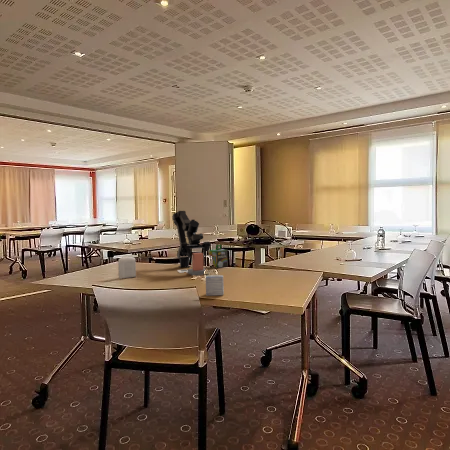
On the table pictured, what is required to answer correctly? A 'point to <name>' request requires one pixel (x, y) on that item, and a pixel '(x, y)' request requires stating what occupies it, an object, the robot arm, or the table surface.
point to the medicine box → (214, 285)
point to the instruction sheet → (182, 271)
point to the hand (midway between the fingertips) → (198, 257)
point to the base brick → (196, 272)
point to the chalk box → (219, 257)
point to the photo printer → (127, 267)
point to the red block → (197, 261)
